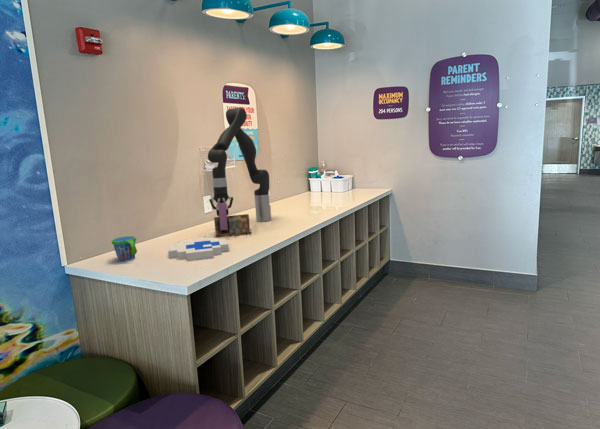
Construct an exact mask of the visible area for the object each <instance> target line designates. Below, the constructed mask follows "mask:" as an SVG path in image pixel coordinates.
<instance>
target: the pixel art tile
mask: <svg viewBox="0 0 600 429" xmlns="http://www.w3.org/2000/svg"><path fill="white" fill-rule="evenodd" d="M228 242H229V241H228V240H227V238H219V237H218V238H216V237H213V238H212V237H209V236H208V237H207V236H204V237H195V238H189V239H188V238H187V239H185V241H178V242H177V244H176V243H175V244H169V245H168V258H170V259H177V260H178V259H180V260H186V262H189V261H190V262H191V261H199V260H206V258H207V259H214V256H220V255H222V253H226V252H230V246H229V243H228ZM176 257H178V258H176Z"/></svg>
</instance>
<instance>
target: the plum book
mask: <svg viewBox="0 0 600 429" xmlns="http://www.w3.org/2000/svg"><path fill="white" fill-rule="evenodd" d="M226 203H227V202H226ZM226 203H224V202H223V203H218V209H219V216H218V217H219V219H220V229H221V230H228V226H227V214H226Z"/></svg>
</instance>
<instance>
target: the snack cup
mask: <svg viewBox="0 0 600 429" xmlns="http://www.w3.org/2000/svg"><path fill="white" fill-rule="evenodd" d="M136 241H137V238H136V236H132V235H128V236H120V237H116V238H114V239H111V244H112V245H113V250H114V251H115V254H116V255H115V256H116V257H117V260H118V261H119V260H120V261H121V262H126V261H125V260H127V261H131V259H132V260H134V259H135V258H136V254H137V253H138V250H137V247H136Z"/></svg>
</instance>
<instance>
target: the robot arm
mask: <svg viewBox="0 0 600 429" xmlns="http://www.w3.org/2000/svg"><path fill="white" fill-rule="evenodd" d="M225 118H226V121H227V123H228V127H227V128H225V129H224V130H223V131H222V133H220V136H219V138H218V139H217V142H216V143H215V144H213V146H211V148H210V149H209V151H208V153H207V160H208V161H209V162H210V163H212V164H215V163H216V164H217V166H215V167H213V168H212V169H211V170H212V187H213V197H212V198H209V199H208V201H209V203H210V206H211V207H212V210H215V212H216V217H219V208H218V203H223V202H224V203H226V214H227V216H229V214H230V213H229V209H230V208H232V205H233V200H234V197H233V196H229V194H228V183H227V177H226V167H227V161H228V154H227V152H226V151H227V150H229V148H230V145H231V143H232V142H233V139H234V138H235V139H236V142H237V144H238V147H239V150H240V152H241V155H242V157H243V160H244V162H245V164H246V168H247V172H248V174H249V175H248V176H249V177H250V180H251V182H252V183H253V184H256V185H259V188H257V189H254V192H253V194H254V195H253V196H254V205H255V216H256V217H255V219H256V222H259V223H260V222H261V223H262V222H269V221H271V220H272V209H271V205H270V195H269V193H270V192H269V191H270V175H269V172H268V170H267V169H258V167H257V165H256V156H257V148H256V145H255V142H254V140H253V139H252V138H251V137H250V135H248V133H246V132H245V131H244V130H243V129H242V126H243V125H244V124H245V122H246V120H247V112H246V110H245V108H244V107H234V108H233V107H232V108H228V109H226V112H225ZM214 201H215V202H216V206H215V204H214ZM227 201H229V204H227Z"/></svg>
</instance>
